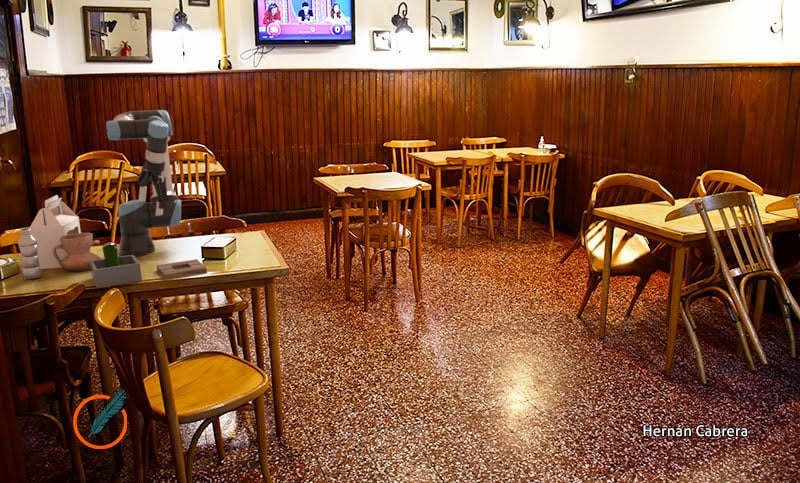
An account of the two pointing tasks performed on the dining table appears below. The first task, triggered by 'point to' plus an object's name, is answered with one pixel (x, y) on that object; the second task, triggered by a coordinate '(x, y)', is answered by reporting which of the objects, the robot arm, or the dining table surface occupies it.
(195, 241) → the dining table surface
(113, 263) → the beer can
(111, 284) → the bin
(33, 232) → the gable box
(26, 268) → the plastic bottle
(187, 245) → the dining table surface
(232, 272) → the dining table surface
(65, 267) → the ceramic jug
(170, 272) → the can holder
